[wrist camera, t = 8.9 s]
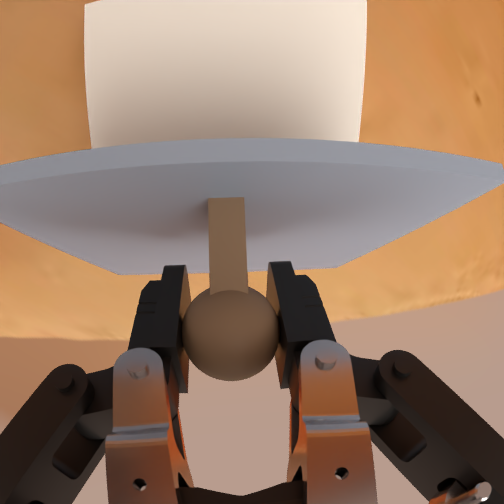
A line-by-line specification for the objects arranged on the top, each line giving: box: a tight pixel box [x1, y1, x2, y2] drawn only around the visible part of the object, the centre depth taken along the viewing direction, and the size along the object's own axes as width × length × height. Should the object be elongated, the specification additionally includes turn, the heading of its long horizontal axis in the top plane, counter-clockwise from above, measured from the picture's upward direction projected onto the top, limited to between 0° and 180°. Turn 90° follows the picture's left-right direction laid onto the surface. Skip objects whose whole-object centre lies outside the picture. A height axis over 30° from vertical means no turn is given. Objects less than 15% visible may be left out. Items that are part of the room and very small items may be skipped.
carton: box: [84, 0, 367, 149], centre depth 24 cm, size 20×18×10 cm
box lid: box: [0, 138, 504, 381], centre depth 15 cm, size 18×17×6 cm
